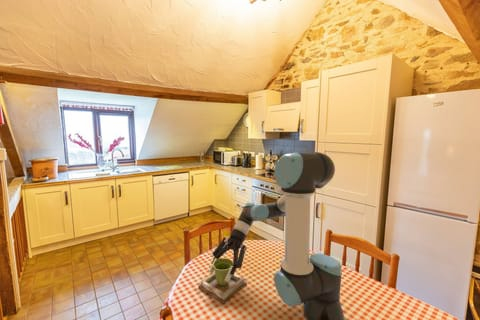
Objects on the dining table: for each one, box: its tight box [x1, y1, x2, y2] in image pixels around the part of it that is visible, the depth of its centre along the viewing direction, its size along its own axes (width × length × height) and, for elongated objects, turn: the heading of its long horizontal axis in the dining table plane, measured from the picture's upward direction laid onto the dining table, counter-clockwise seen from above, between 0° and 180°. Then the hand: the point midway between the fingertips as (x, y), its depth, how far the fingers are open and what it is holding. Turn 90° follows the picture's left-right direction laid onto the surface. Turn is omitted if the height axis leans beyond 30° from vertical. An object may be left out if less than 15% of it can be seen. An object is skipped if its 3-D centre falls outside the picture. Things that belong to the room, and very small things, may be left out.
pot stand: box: [198, 271, 248, 304], centre depth 105 cm, size 16×16×3 cm
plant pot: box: [213, 257, 233, 285], centre depth 105 cm, size 9×9×9 cm
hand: (218, 276), depth 102 cm, fingers closed on plant pot, 9 cm apart
